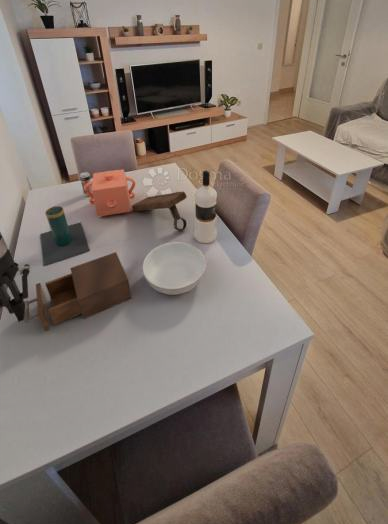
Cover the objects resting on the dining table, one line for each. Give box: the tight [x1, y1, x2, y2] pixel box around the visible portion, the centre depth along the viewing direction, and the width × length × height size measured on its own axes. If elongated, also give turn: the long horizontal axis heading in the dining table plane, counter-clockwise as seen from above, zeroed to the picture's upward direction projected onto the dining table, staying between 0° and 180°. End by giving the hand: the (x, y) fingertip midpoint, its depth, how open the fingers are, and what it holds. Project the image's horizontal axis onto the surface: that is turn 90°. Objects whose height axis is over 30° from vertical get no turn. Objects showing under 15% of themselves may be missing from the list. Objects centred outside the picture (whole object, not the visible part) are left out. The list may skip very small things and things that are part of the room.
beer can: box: [79, 171, 93, 197], centre depth 139 cm, size 5×5×12 cm
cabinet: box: [70, 251, 132, 320], centre depth 87 cm, size 15×14×9 cm
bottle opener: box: [131, 191, 188, 232], centre depth 122 cm, size 10×16×30 cm
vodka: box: [193, 170, 218, 244], centre depth 105 cm, size 9×9×30 cm
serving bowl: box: [142, 241, 207, 296], centre depth 93 cm, size 21×21×7 cm
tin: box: [44, 205, 72, 247], centre depth 107 cm, size 6×6×15 cm
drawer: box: [23, 273, 82, 332], centre depth 82 cm, size 18×12×7 cm
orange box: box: [84, 169, 136, 218], centre depth 125 cm, size 25×23×18 cm
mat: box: [39, 221, 90, 267], centre depth 110 cm, size 20×16×1 cm
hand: (21, 316), depth 78 cm, fingers closed
